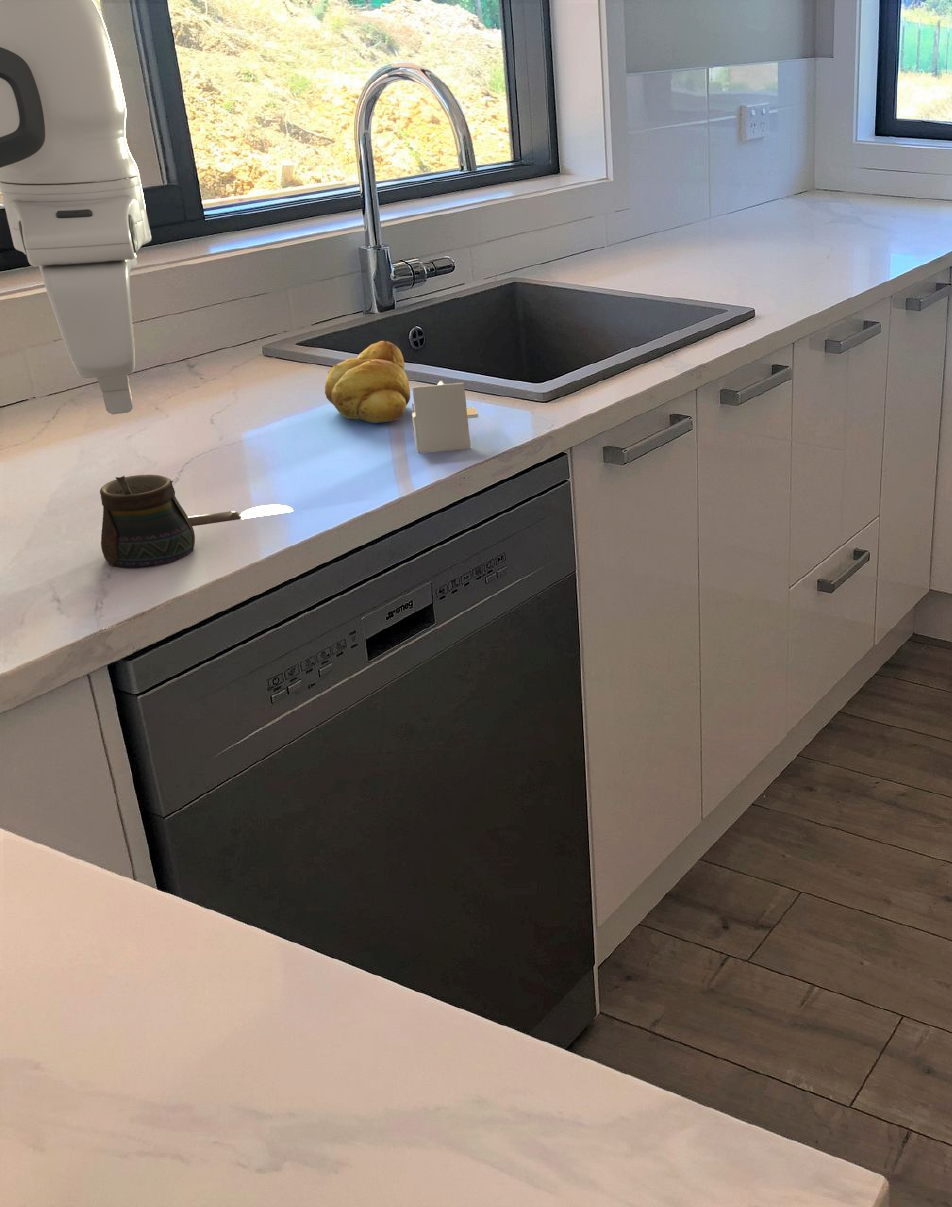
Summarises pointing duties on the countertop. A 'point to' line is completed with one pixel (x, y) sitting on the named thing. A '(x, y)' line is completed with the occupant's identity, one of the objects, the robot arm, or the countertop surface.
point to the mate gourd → (143, 523)
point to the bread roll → (370, 384)
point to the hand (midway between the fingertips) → (120, 408)
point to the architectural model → (441, 417)
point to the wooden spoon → (236, 516)
